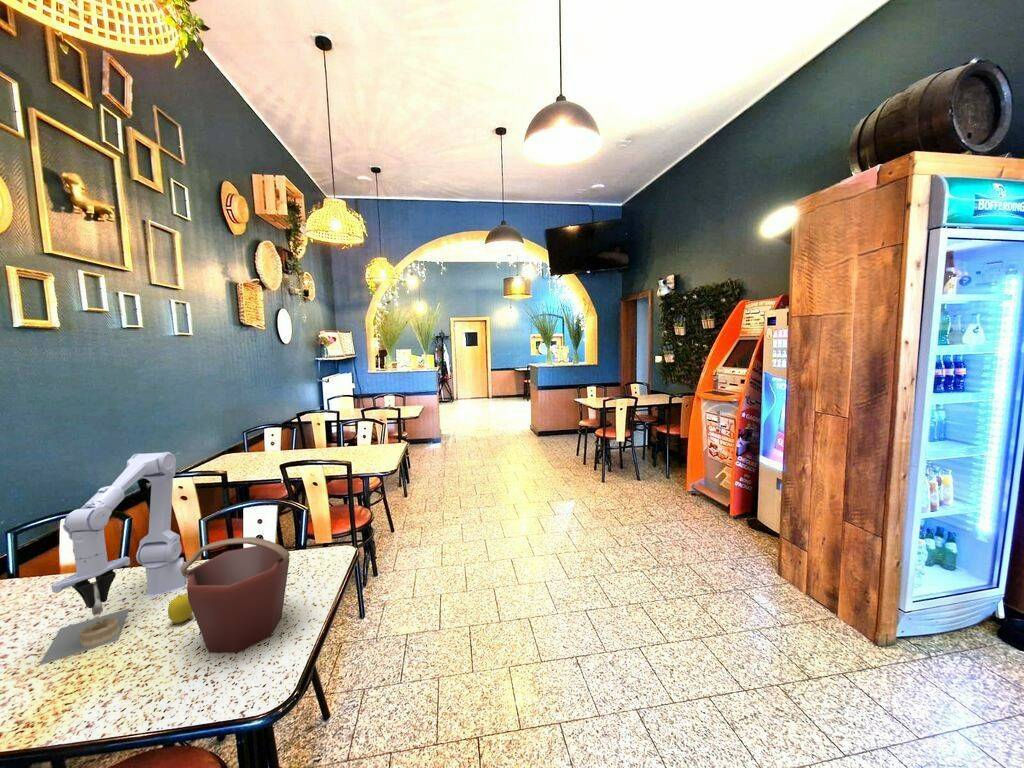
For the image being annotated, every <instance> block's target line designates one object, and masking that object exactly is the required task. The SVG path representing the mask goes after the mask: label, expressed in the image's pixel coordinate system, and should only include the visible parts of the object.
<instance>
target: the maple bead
mask: <svg viewBox="0 0 1024 768" xmlns="http://www.w3.org/2000/svg"><path fill="white" fill-rule="evenodd" d="M119 631H120V627H119V619H117V618H107V619H103V620H100V621H97V622H95V623H93V624H90V625H88V626H87V627H85V628H84V629H83V630H81V632H80V641H81V645H82V646H83V647H91V646H95V645H99V644H102V643H104V642H106V641H108V640H110V639H112V638H113V637H115V636H116V635H117V634H118V633H119Z"/></svg>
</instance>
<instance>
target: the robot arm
mask: <svg viewBox="0 0 1024 768" xmlns="http://www.w3.org/2000/svg"><path fill="white" fill-rule="evenodd" d="M176 466H177V458H176V456H175V455H174V454H173V453H172V452H170V451H165V452H151V453H150V452H149V453H134V454H132V455H131V456H130V458H129V459H128V460H126V468H125V469H124V470H123V472H122V473H120V474H119V476H118V477H117V478H116V479H115V480H114V481H113V482H112V484H111V485H107V486H102V487H100V488H99V489H98V490H97V492H96V493H95V494H94V495H93V496H92V497H90V498H89V500H88V501H87V502H85V503H84V505H83V506H81V508H77V509H74V510H73V511H71V512H70V513H68V514H67V515H66V516H65V519H64V522H63V524H62V528H63V530H64V531H65V533H67V534H68V538H69V539H70V540H71V541H72V548H73V556H74V563H75V571H76V572H75V573H74V574H71V575H70V576H68V577H67V576H66V577H64V578H63V579H61V580H59V581H56V582H55V583H52V584H51V592H52V593H55V594H59V593H61V592H63V590H66V589H68V588H71V587H72V588H73V589H74V590H75V591H76V592H77V594H79V596H80V597H81V598H82V600H83V602H84V604H85V607H86V608H87V609H88V608H89V609H92V608H93V607H94V601H93V584H92V582H90V580H91V579H94V578H95V581H99V582H100V589H101V597H102V603H106V602H107V601H108V597H109V596H108V595H109V593H110V588H111V586H112V583H113V581H114V580H115V578H116V576H117V573H116V572H115V571H114V570H117V569H119V568H122V567H127V566H129V565H131V559H130V557H128V556H124V557H120V558H116V559H114V560H110V561H108V554H107V546H106V538H105V527H106V526H107V525H108V523H109V520H110V517H111V515H112V513H113V511H114V510H115V509H116V508H117V506H118V505H119V504H120V503H122V501H123V500H124V499H125V496H126V495H125V492H126V491H127V490H128V489H130V487H132V486H133V485H134V484H135V483H136V482H137V481H138V480H140V479H141V478H143V479H145V480H147V481H149V482H150V483H151V488H150V504H149V519H148V520H149V522H148V534H147V535H145V536H144V537H143V538H142V539H140V540H139V546H138V549H137V552H136V555H135V558H136V562H137V563H138V564H139V565H142V568H145V574H146V583H147V584H146V585H147V591H146V594H145V599H149V598H153V597H156V596H159V595H163V594H166V593H170V592H174V591H177V590H181V589H184V588H185V586H186V581H187V578H186V577H184V576H182V573H181V566H182V565H183V564H184V563H185V559H184V557H180V555H181V553H182V548H183V547H182V544H181V536H180V534H178V533H176V532H174V531H172V529H171V526H172V525H171V524H172V507H173V506H172V504H173V486H174V477H175V476H176Z"/></svg>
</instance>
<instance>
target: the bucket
mask: <svg viewBox="0 0 1024 768" xmlns="http://www.w3.org/2000/svg"><path fill="white" fill-rule="evenodd" d="M243 544H244V545H251V546H249V547H244V548H243V547H242V548H239V549H233V550H227V551H226V550H225V551H224V552H222V553H220V554H218V555H216V556H214V557H213V558H211V559H209V560H206V561H204V562H203V563H200V564H199V565H197V566H195V567H192V568H191V569H189V567H191V566H192V565H193V564H194V563H195V562H196V561H197V560H198V559H199V558H200V556H201V555H202V554H203V553H204V552H206V551H209V550H212V549H216V548H218V547H219V548H220V547H224V546H229V545H230V546H231V545H243ZM290 555H291V554H290V551H289V550H287V549H286V548H284V546H282V545H280V544H278V543H276V542H273V541H271V540H268V539H263V538H259V537H255V536H254V537H253V536H250V537H249V536H248V537H247V536H245V537H233V538H227V539H221V540H217V541H214V542H211V543H209V544H205V545H203V546H202V547H200V548H199V549H198V550H197V551H196V552H195V553H194V555H193V556H192V557H191V558H190V559H189V560H188V561H185V562H184V564H183V565H182V566H181V573H182V576H184V577H186V579H187V585H186V590H187V592H186V593H187V596H188V600H189V603H190V606H191V608H192V611H193V612H192V614H193V615H194V616H193V617H194V619H195V621H196V624H197V626H198V628H199V632H200V634H201V638H202V640H203V642H204V645H205V647H206V649H207V652H208V654H239V653H240V652H243V651H244V650H246V649H248V648H250V647H253V646H255V645H256V644H258V643H261V642H263V641H265V640H266V639H269V638H270V637H272V636H273V634H274V632H275V630H276V628H277V627H278V625H279V623H280V622H281V620H282V619H283V611H284V603H285V597H286V587H287V580H288V573H289V565H290Z"/></svg>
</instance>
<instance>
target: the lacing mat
mask: <svg viewBox="0 0 1024 768" xmlns="http://www.w3.org/2000/svg"><path fill="white" fill-rule="evenodd" d="M129 611H130V607H129V608H126V609H123V610H119V611H118V610H117V611H114V612H112V613H107V614H105V615H102V616H98V617H94V618H91V619H87V620H84V621H81V622H78V623H74V624H70V625H67V626H64V627H60V628H59V629H58V632H57V633H56V635H55V637H54V638H53V640H52V642H51V643H50V646H49V647H48V649H47V651H46V653H45V654H44V655H43V657H42V660H41V661H40V662H39V664H38V666H42V665H45V664H49V663H51V662H55V661H58V660H61V659H64V658H67V657H70V656H74V655H76V654H80V653H83V652H85V651H90V650H93V649H95V648H99V647H101V646H104V645H107V644H111V643H114V642H117V641H119V640H120V637H121V634H122V631H123V629H124V625H125V622H126V620H127V617H128V614H129ZM107 618H117V619H119V627H120V631H119V633H118V634H117V635H116V636H115V637H113V638H112V639H110V640H108V641H106V642H104V643H102V644H99V645H95V646H91V647H83V646H82V645H81V641H80V632H81V630H83V629H84V628H85V627H87V626H88V625H90V624H93V623H95V622H97V621H100V620H103V619H107Z"/></svg>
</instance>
